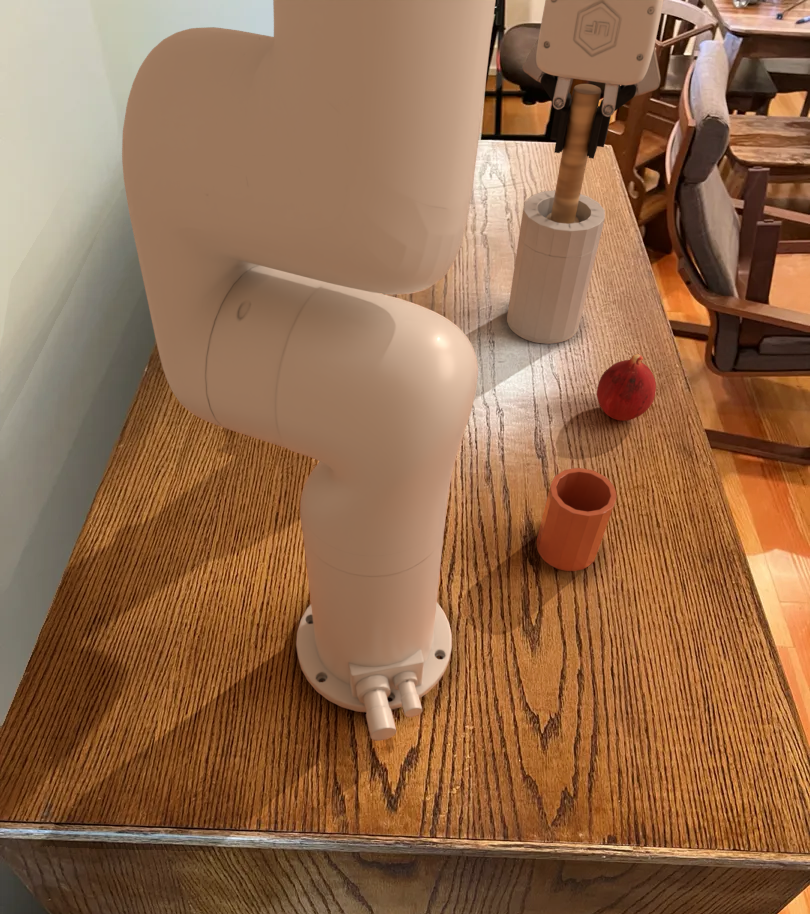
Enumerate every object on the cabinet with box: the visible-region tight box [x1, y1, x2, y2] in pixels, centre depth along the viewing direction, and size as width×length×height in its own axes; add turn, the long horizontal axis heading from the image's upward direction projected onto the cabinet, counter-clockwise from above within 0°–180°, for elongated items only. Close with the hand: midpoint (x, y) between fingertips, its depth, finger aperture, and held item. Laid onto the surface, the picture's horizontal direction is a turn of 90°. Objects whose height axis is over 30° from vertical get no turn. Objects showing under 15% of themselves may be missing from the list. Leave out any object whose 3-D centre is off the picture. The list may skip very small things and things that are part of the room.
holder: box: [535, 467, 618, 572], centre depth 67 cm, size 5×6×8 cm
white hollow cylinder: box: [506, 189, 606, 345], centre depth 87 cm, size 9×9×14 cm
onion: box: [596, 353, 657, 422], centre depth 79 cm, size 6×6×8 cm
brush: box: [546, 83, 602, 224], centre depth 80 cm, size 4×4×18 cm
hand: (576, 148), depth 77 cm, fingers closed on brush, 2 cm apart
